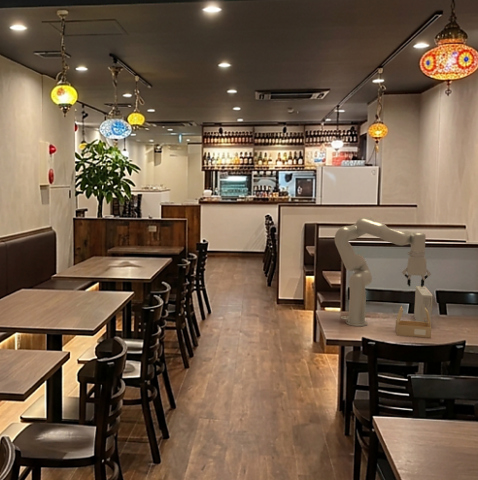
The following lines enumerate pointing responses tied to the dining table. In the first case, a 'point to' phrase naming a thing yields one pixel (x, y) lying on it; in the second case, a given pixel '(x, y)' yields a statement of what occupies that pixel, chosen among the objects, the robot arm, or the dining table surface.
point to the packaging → (422, 304)
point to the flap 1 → (399, 314)
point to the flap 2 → (427, 316)
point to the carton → (413, 329)
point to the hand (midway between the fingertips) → (415, 286)
